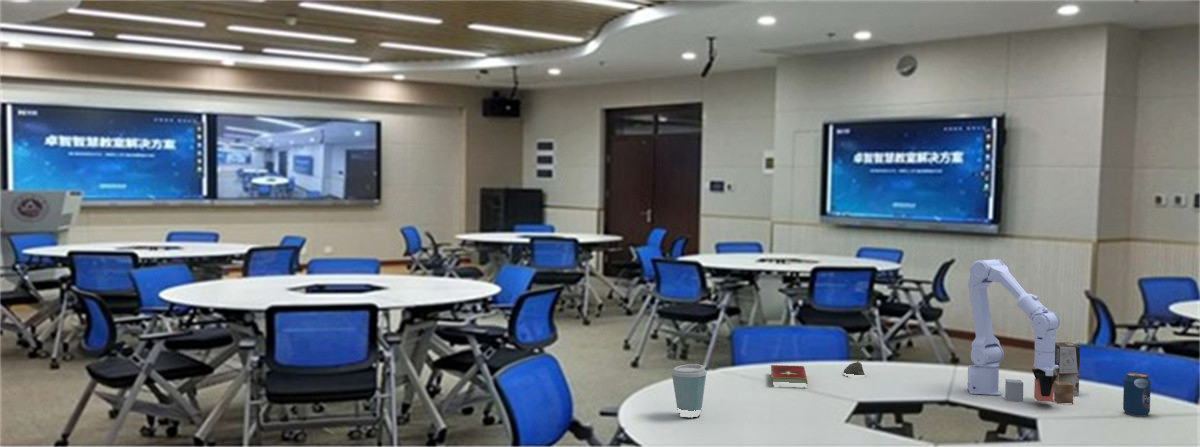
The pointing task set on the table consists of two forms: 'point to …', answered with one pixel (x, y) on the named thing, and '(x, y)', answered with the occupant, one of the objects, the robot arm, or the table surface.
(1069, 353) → the coffee box
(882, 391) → the table surface
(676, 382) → the disposable coffee cup
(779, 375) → the hardcover book
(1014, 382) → the grey block
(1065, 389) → the walnut block
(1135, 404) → the soda can
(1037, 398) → the red block
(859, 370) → the sword in stone
